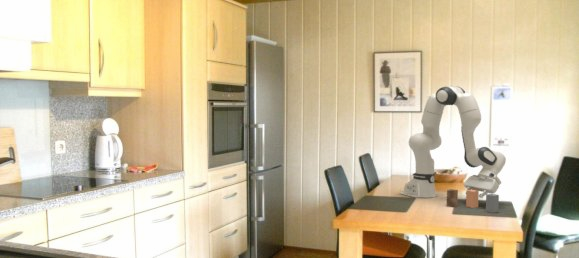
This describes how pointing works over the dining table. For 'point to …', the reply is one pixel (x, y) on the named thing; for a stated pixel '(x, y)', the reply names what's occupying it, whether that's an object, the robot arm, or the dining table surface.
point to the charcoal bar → (492, 203)
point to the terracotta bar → (472, 198)
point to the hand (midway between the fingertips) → (473, 195)
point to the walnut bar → (452, 198)
